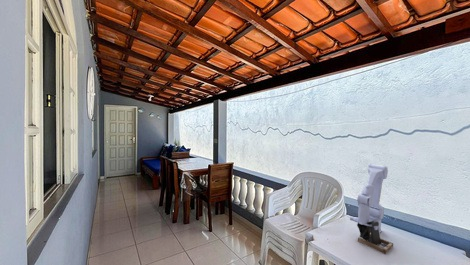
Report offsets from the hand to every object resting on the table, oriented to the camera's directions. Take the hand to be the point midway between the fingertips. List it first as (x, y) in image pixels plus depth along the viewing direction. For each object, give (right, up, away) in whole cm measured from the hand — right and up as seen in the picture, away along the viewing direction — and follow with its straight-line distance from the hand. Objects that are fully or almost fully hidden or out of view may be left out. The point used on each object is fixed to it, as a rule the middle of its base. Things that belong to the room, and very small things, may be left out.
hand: (362, 236), depth 118 cm
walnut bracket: (+4, -2, -5) cm, 7 cm away
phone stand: (+3, -1, -3) cm, 4 cm away
